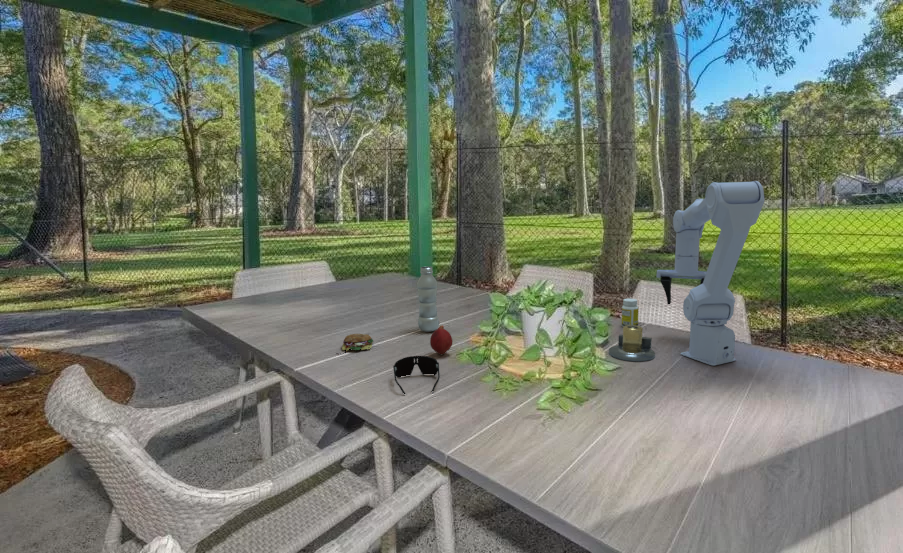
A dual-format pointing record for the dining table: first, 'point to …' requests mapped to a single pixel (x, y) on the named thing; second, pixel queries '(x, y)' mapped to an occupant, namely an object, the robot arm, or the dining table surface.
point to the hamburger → (357, 342)
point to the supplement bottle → (630, 312)
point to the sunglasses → (424, 364)
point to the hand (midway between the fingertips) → (684, 304)
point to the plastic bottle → (427, 300)
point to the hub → (632, 338)
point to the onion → (441, 340)
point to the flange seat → (634, 357)
